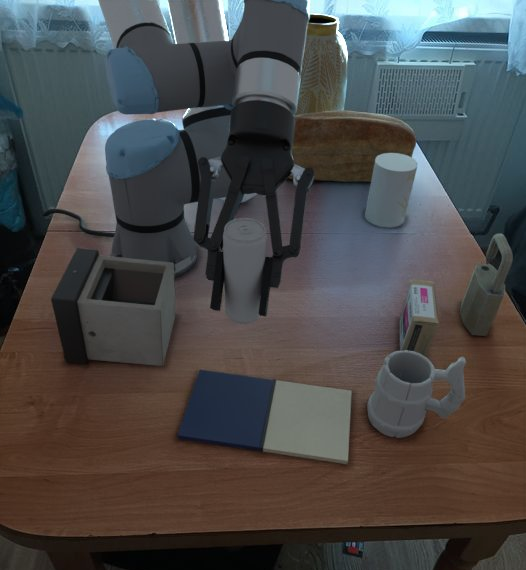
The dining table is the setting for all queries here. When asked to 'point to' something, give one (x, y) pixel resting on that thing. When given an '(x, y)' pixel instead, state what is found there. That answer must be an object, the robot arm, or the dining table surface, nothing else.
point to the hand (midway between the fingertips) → (238, 311)
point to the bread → (347, 143)
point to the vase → (323, 67)
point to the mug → (412, 393)
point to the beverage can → (243, 268)
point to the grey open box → (115, 309)
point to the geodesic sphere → (244, 197)
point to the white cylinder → (390, 189)
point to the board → (269, 416)
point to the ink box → (419, 318)
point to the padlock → (486, 289)
